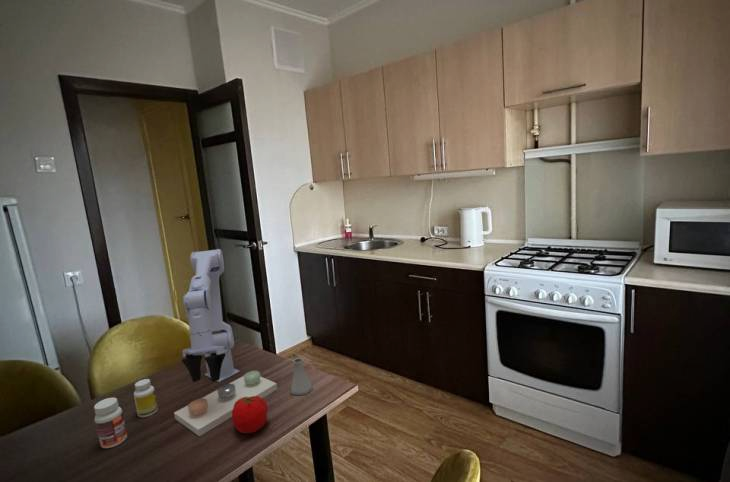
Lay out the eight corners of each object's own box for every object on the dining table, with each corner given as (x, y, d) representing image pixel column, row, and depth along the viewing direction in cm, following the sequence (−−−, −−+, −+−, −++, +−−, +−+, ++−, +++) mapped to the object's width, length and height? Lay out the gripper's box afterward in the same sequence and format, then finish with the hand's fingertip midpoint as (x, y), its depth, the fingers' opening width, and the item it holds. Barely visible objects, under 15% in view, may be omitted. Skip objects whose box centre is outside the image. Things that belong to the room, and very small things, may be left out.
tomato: (251, 443, 96) (246, 413, 95) (224, 432, 102) (219, 404, 100) (277, 422, 104) (273, 394, 103) (251, 412, 109) (247, 386, 108)
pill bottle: (122, 446, 100) (113, 407, 98) (96, 451, 99) (87, 412, 97) (131, 431, 106) (123, 394, 104) (106, 436, 105) (98, 399, 103)
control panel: (175, 418, 110) (173, 412, 109) (251, 377, 129) (250, 372, 129) (199, 436, 101) (198, 429, 101) (277, 389, 121) (276, 383, 120)
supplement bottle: (161, 411, 114) (155, 381, 113) (141, 420, 111) (134, 389, 109) (154, 404, 118) (148, 375, 116) (135, 413, 114) (129, 383, 113)
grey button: (215, 395, 114) (214, 389, 114) (229, 387, 118) (229, 382, 118) (224, 400, 111) (223, 394, 111) (239, 391, 115) (238, 386, 115)
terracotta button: (185, 410, 107) (184, 405, 107) (202, 401, 111) (201, 396, 111) (194, 416, 104) (193, 411, 104) (211, 407, 108) (210, 401, 108)
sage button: (241, 381, 121) (240, 376, 121) (254, 374, 125) (253, 369, 125) (250, 385, 118) (249, 380, 118) (263, 378, 122) (262, 373, 121)
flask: (315, 382, 122) (312, 354, 121) (310, 395, 115) (306, 365, 114) (293, 383, 123) (290, 354, 122) (287, 396, 116) (283, 366, 114)
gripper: (171, 336, 108) (176, 385, 107) (207, 333, 102) (213, 385, 100) (192, 331, 114) (197, 377, 113) (227, 328, 108) (233, 377, 107)
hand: (206, 380), depth 107 cm, fingers open, 7 cm apart
